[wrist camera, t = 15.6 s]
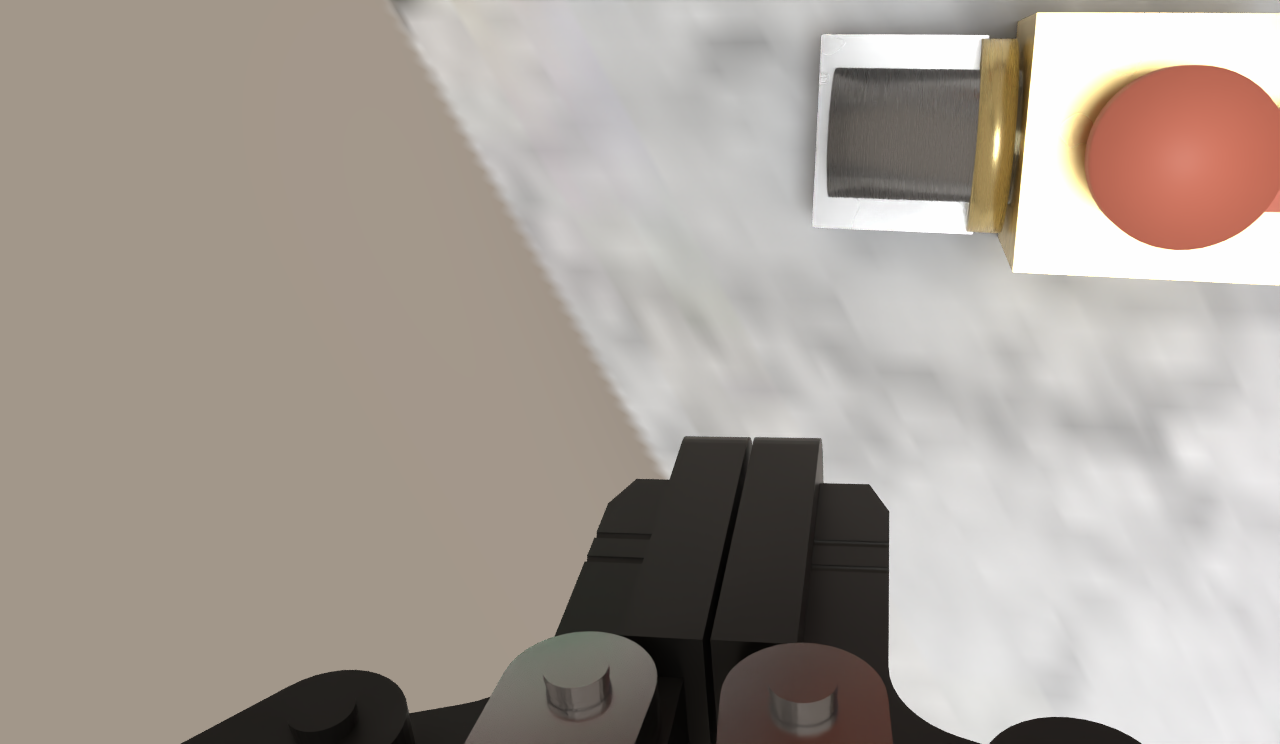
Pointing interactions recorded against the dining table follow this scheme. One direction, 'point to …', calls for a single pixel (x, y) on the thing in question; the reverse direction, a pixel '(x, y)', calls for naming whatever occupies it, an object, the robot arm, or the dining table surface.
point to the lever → (1185, 156)
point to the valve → (1021, 136)
